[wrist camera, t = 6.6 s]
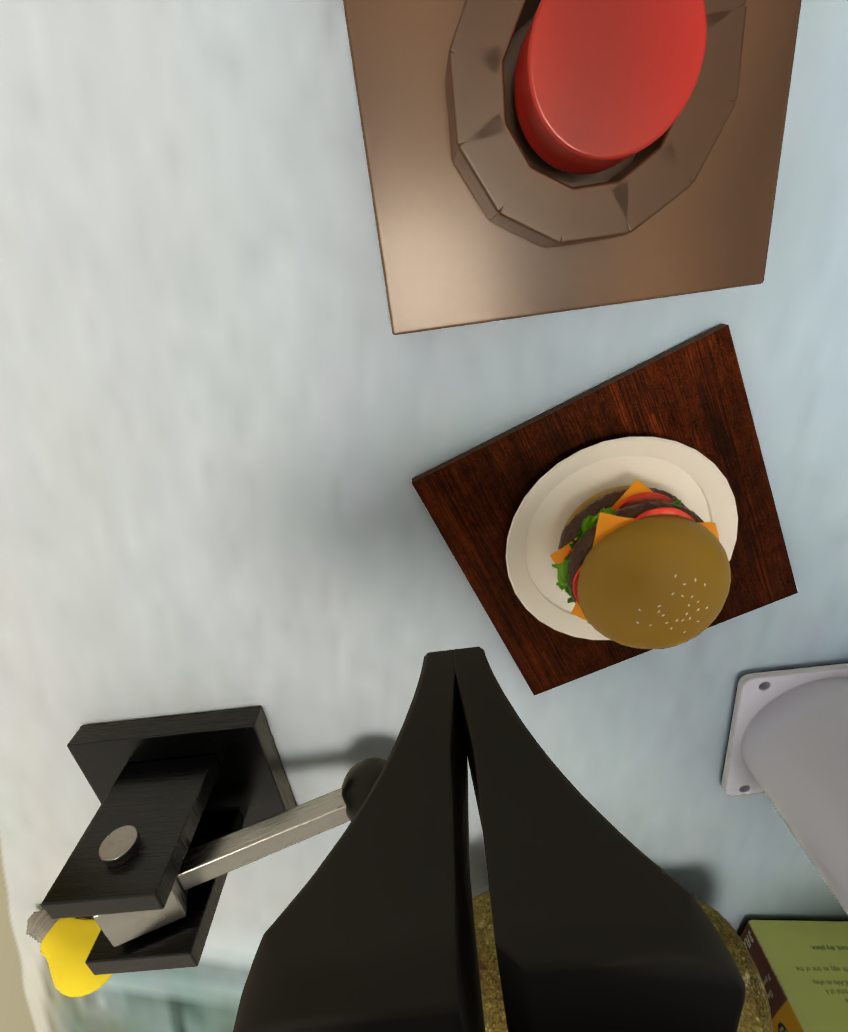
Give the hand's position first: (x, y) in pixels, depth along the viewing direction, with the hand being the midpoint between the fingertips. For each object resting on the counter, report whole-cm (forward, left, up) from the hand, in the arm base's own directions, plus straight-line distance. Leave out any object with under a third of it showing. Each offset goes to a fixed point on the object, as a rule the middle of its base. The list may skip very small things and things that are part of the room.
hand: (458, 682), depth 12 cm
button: (-5, -12, -6) cm, 14 cm away
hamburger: (-7, +2, -9) cm, 12 cm away
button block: (-5, -12, -9) cm, 16 cm away
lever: (+10, +13, -7) cm, 17 cm away
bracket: (+14, +13, -9) cm, 21 cm away
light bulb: (+24, +23, -8) cm, 34 cm away
